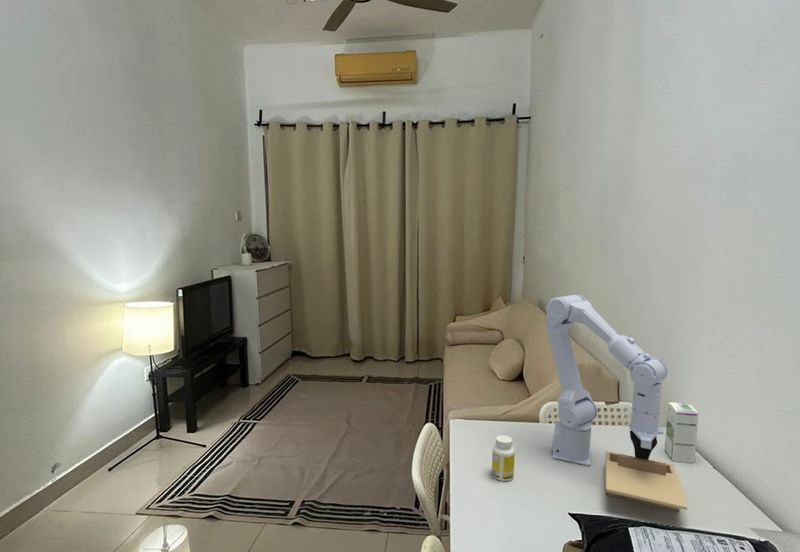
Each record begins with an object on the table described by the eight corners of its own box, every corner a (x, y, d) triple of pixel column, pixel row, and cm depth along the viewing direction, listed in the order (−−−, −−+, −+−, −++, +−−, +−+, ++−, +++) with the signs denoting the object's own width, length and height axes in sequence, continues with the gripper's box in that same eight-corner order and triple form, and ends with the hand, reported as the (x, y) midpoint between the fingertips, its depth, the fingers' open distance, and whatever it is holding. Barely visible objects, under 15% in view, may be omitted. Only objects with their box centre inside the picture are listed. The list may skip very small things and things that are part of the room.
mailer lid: (606, 491, 99) (607, 478, 99) (605, 462, 111) (606, 450, 111) (686, 510, 93) (688, 496, 93) (677, 477, 105) (678, 465, 105)
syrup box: (695, 463, 120) (700, 411, 119) (670, 461, 122) (675, 409, 120) (686, 453, 126) (691, 403, 124) (663, 450, 127) (667, 401, 125)
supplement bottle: (515, 473, 115) (517, 436, 114) (511, 484, 110) (513, 446, 109) (494, 467, 117) (495, 432, 116) (489, 478, 112) (490, 441, 111)
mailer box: (605, 494, 106) (606, 476, 106) (604, 467, 118) (606, 450, 117) (679, 511, 100) (681, 493, 100) (671, 481, 112) (672, 464, 111)
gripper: (669, 425, 99) (663, 483, 101) (661, 401, 112) (656, 453, 114) (632, 419, 102) (628, 475, 103) (629, 396, 115) (625, 446, 117)
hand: (640, 463), depth 109 cm, fingers closed
